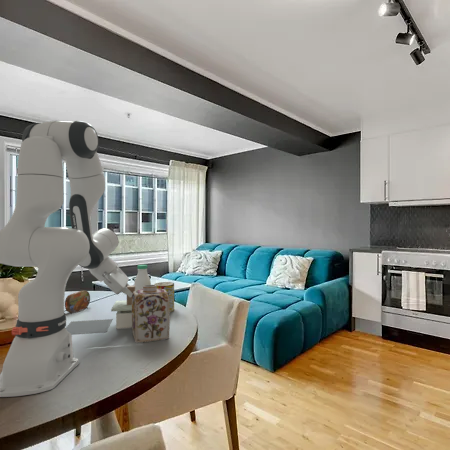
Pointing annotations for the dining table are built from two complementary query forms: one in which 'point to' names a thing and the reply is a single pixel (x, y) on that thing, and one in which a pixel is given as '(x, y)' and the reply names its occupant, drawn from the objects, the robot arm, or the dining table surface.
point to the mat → (88, 326)
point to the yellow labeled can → (170, 290)
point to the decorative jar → (150, 314)
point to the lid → (124, 302)
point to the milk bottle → (142, 277)
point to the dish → (123, 319)
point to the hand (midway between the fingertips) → (132, 294)
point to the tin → (77, 301)
